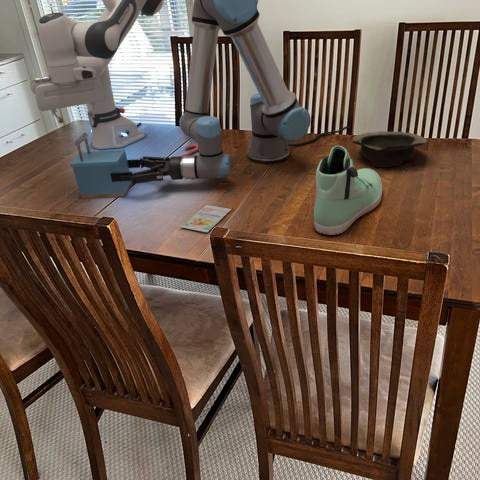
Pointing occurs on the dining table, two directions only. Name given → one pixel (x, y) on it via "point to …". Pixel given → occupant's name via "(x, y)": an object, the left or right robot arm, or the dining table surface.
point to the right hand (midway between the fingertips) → (116, 170)
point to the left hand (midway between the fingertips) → (76, 119)
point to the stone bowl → (388, 147)
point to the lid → (95, 155)
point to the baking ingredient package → (206, 218)
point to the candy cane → (190, 150)
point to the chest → (101, 180)
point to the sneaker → (343, 192)
